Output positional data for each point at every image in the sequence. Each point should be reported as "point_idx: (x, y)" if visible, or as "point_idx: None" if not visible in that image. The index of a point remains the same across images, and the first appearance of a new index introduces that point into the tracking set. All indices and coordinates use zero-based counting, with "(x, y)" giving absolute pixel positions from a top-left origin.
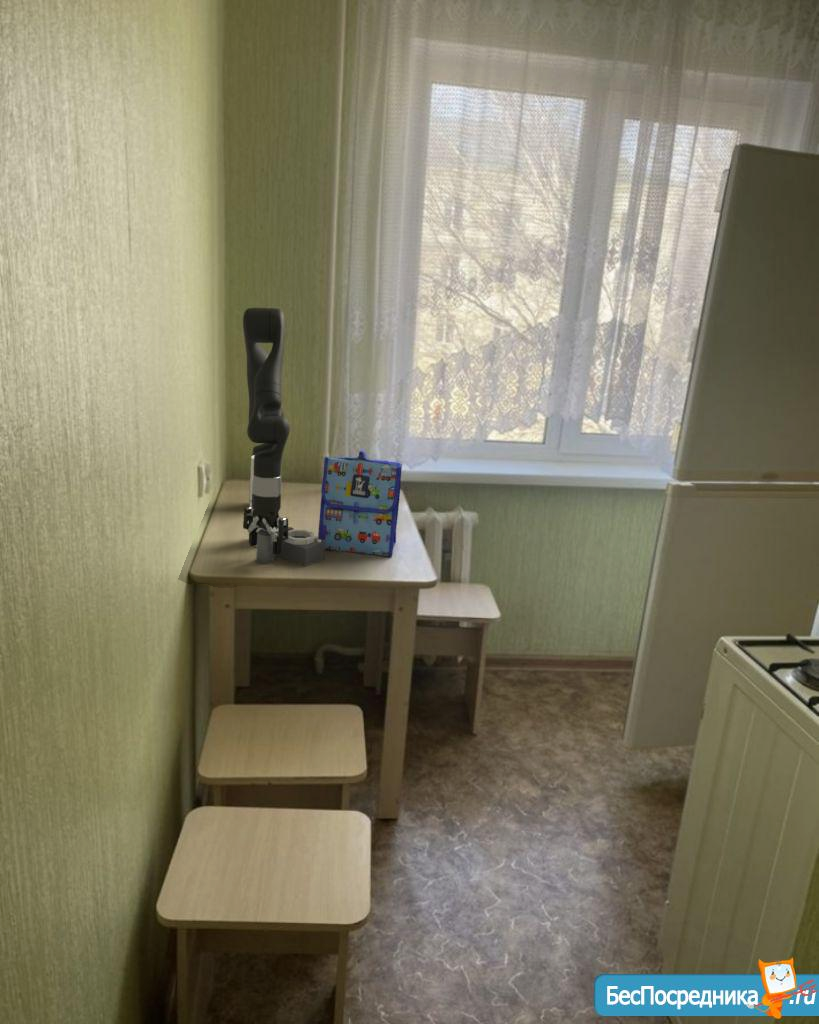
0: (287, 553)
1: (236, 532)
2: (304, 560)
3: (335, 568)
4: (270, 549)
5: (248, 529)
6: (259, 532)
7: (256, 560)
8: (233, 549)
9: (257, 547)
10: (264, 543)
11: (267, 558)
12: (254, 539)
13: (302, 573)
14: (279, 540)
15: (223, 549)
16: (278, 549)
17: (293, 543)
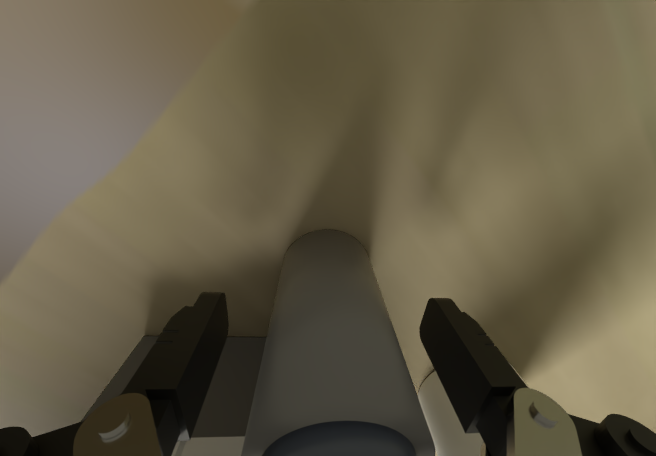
0: (252, 365)
1: (595, 391)
2: (132, 361)
3: (49, 389)
4: (270, 322)
5: (567, 426)
6: (389, 443)
7: (354, 240)
8: (537, 276)
9: (360, 288)
10: (290, 333)
11: (285, 267)
12: (445, 353)
13: (63, 272)
14: (24, 433)
15: (585, 246)
16: (165, 337)
17: (185, 446)
